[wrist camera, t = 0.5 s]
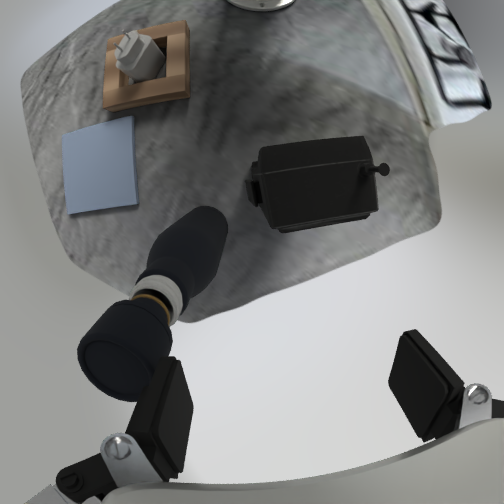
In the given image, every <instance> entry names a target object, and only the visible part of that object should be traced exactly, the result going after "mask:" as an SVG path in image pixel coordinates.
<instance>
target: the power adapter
mask: <svg viewBox="0 0 504 504" xmlns="http://www.w3.org/2000/svg"><path fill="white" fill-rule="evenodd" d="M122 32H123V33H124V34H125V36H124V37H123V39H122V40H121V42H120V44H119V45H117V44H116V43H114V45H115V46H116V47H117V48H116V50H115V53H114V54H115V57H116V59H117V62H116V67H117V68H118V69H120V70H121V71H122V72H124V73H125V74H126V75H128V76H129V77H130V78H131V79H133V80H134V81H135V82H137V83H140V82H145V81H149V80H154V79H155V77H156V75H157V73H158V72H159V70H160V68H161V67H162V65H163V63H164V62H165V59H166V57H165V56H164V54H163V53H162V52H161V50H160V49H159V48H158V46H157V45H156V44H155V42H154V41H153V39H152V38H151V37H150V36H147V35H142V34H139V33H138V32H137V31H136V30H134V31H132V32H129V33H126V32H125V31H124V30H122Z"/></svg>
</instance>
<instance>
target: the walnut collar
mask: <svg viewBox="0 0 504 504" xmlns="http://www.w3.org/2000/svg"><path fill="white" fill-rule="evenodd" d="M137 32H138V33H139V34H142V35H147V36H150V37H151V38H152V39H153V41H154V42H155V44H156V45H157V46H158V48H163V47H167V63H166V77H164V78H159V79H154V80H149V81H145V82H140V83H136V84H132V85H128V82H129V76H128V75H126V74H125V73H124V72H122V71H121V70H120V69H118V68H117V67H116V62H117V59H116V57H115V54H114V53H115V50H116V48H117V47H116V46H115V45H114V43H116V44H117V45H119V44H120V42H121V40H122V39H123V37H124V36H125V34H123V35H119V36H116V37H113V38H110V39H108V43H107V52H106V61H105V73H104V89H103V108H104V109H106V110H109V111H111V112H117V111H121V110H125V109H129V108H134V107H138V106H143V105H148V104H153V103H158V102H164V101H170V100H176V99H183V98H190V30H189V27H188V25H187V22H186V20H182V21H176V22H171V23H166V24H161V25H157V26H152V27H148V28H144V29H140V30H137Z"/></svg>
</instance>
